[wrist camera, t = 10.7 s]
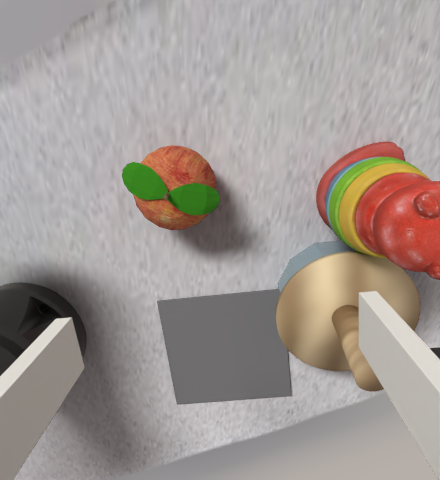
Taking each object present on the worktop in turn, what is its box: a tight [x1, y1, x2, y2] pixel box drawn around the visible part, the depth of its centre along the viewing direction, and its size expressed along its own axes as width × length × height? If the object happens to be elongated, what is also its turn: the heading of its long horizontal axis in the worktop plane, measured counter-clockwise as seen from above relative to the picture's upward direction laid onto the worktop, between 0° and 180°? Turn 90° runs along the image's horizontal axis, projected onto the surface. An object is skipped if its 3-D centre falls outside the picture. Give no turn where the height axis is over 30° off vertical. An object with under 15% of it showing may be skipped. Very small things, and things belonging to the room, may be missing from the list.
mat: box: [157, 289, 291, 404], centre depth 47 cm, size 16×16×1 cm
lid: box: [276, 251, 420, 391], centre depth 34 cm, size 15×15×9 cm
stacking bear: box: [316, 142, 440, 280], centre depth 32 cm, size 11×10×18 cm
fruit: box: [122, 145, 220, 230], centre depth 36 cm, size 9×10×10 cm
